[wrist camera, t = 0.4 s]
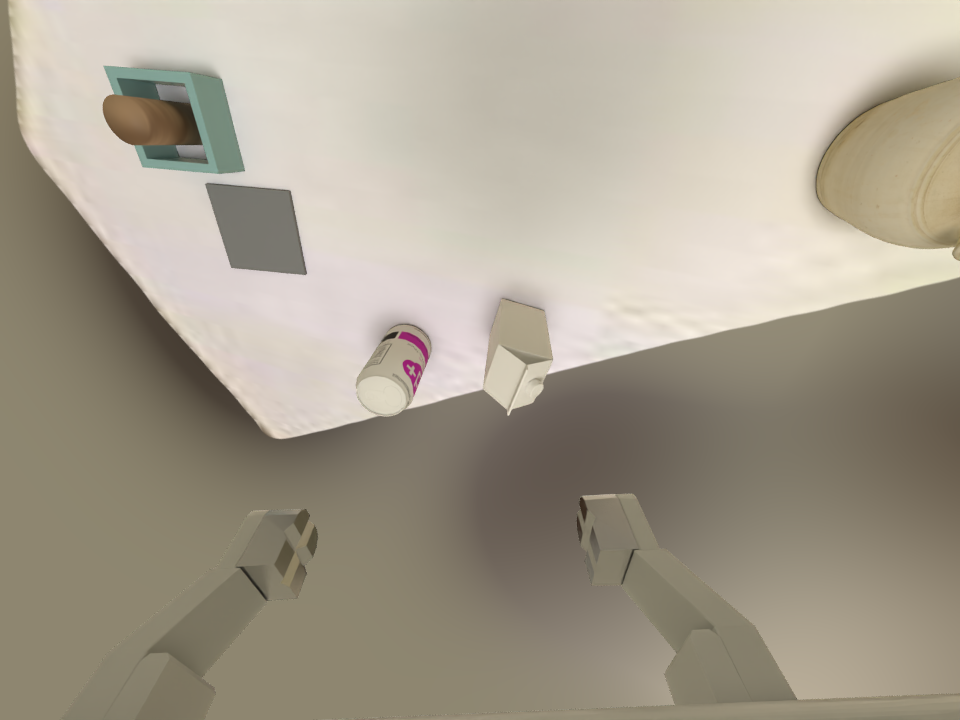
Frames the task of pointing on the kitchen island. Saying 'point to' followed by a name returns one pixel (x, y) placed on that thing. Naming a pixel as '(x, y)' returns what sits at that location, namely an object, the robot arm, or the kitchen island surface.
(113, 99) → the walnut peg
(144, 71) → the tub
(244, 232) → the mat
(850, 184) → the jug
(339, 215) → the kitchen island surface
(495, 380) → the milk carton
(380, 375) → the supplement can
